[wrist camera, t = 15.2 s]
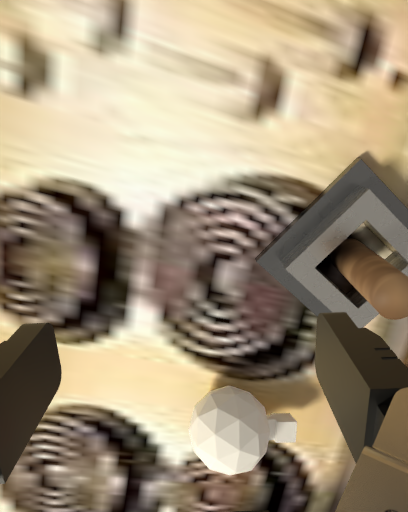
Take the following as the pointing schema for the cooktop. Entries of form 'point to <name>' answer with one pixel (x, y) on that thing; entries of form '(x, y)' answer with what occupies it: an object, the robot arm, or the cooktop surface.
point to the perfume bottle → (235, 430)
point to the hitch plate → (314, 217)
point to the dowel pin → (373, 278)
